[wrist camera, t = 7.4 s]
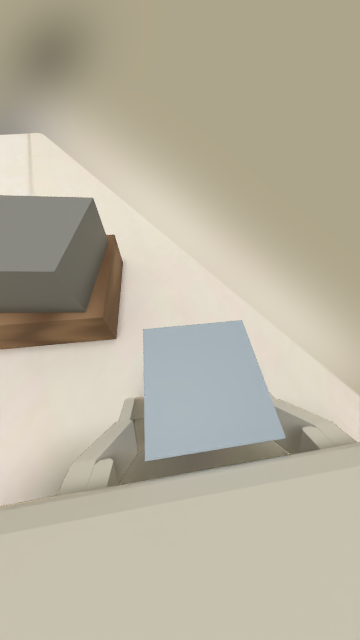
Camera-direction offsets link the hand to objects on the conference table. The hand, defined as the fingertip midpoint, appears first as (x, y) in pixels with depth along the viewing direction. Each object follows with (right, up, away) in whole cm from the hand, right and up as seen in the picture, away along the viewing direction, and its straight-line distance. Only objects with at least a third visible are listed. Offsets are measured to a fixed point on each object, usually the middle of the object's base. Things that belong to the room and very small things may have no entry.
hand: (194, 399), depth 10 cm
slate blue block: (0, -2, +4) cm, 5 cm away
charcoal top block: (-14, +9, +7) cm, 18 cm away
